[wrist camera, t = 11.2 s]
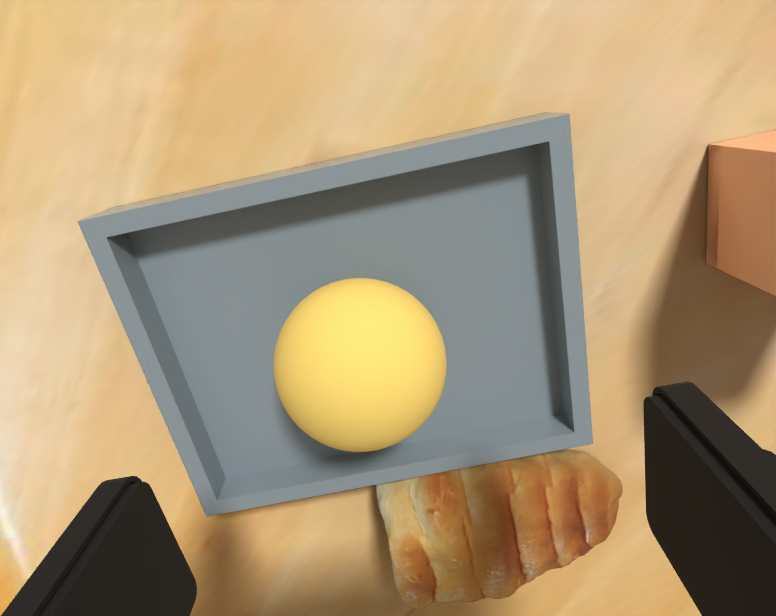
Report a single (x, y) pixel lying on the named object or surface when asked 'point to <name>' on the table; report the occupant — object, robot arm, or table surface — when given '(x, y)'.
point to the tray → (361, 260)
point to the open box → (743, 209)
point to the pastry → (495, 524)
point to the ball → (359, 364)
